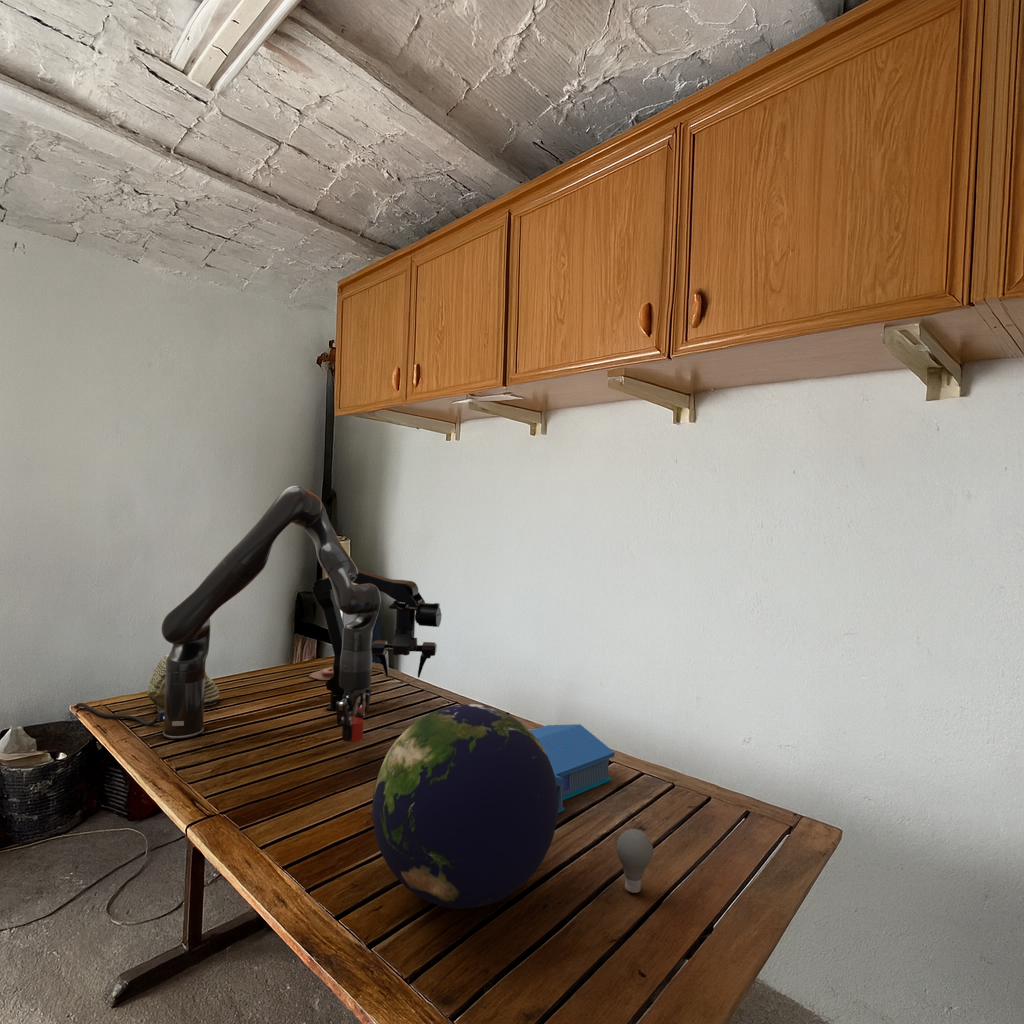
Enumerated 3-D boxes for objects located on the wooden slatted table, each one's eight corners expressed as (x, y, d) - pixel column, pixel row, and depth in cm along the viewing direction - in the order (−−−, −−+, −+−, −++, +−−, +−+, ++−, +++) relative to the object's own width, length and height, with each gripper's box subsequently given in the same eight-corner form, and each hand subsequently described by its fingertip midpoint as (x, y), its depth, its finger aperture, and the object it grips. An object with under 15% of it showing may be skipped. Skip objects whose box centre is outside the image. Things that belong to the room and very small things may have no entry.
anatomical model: (305, 666, 217) (321, 658, 228) (304, 678, 217) (321, 669, 229) (340, 670, 215) (355, 662, 226) (340, 682, 215) (355, 673, 226)
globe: (328, 919, 95) (336, 721, 95) (427, 827, 123) (434, 674, 122) (512, 985, 84) (522, 760, 83) (576, 867, 112) (584, 698, 111)
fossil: (144, 707, 182) (145, 655, 182) (212, 696, 194) (213, 647, 194) (151, 716, 175) (153, 662, 175) (221, 703, 188) (223, 653, 188)
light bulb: (610, 879, 108) (613, 822, 108) (644, 879, 109) (647, 822, 109) (619, 902, 102) (622, 840, 102) (655, 901, 103) (658, 840, 103)
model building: (493, 841, 119) (496, 788, 119) (420, 792, 137) (422, 747, 137) (623, 784, 145) (625, 741, 145) (547, 750, 164) (548, 712, 163)
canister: (337, 738, 153) (338, 720, 152) (353, 733, 157) (354, 715, 157) (351, 743, 150) (352, 725, 150) (367, 738, 154) (367, 720, 154)
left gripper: (356, 676, 145) (352, 749, 145) (383, 661, 159) (379, 728, 159) (326, 672, 147) (322, 745, 147) (355, 658, 161) (352, 724, 161)
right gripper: (368, 628, 178) (365, 684, 178) (434, 631, 179) (432, 686, 179) (375, 621, 189) (372, 673, 189) (437, 623, 190) (435, 675, 190)
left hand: (352, 736), depth 153 cm, fingers closed on canister, 5 cm apart
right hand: (402, 677), depth 187 cm, fingers open, 9 cm apart
